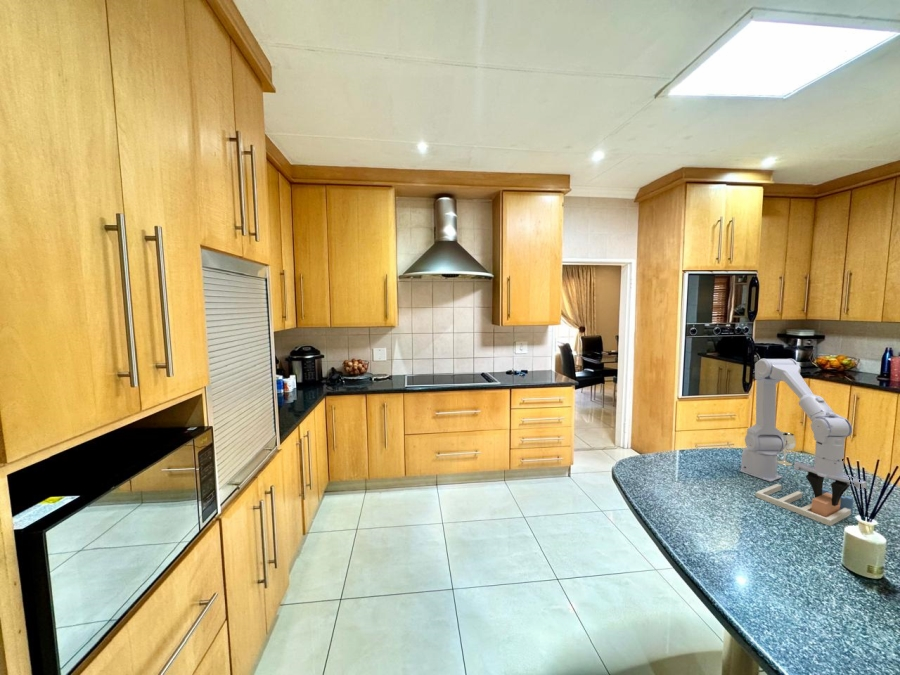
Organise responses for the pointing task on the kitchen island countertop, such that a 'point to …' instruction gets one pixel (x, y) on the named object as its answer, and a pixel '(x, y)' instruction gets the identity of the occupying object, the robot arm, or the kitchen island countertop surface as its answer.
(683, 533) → the kitchen island countertop surface
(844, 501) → the blue bracket
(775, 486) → the comb organizer
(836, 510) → the tall peach block
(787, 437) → the wineglass
